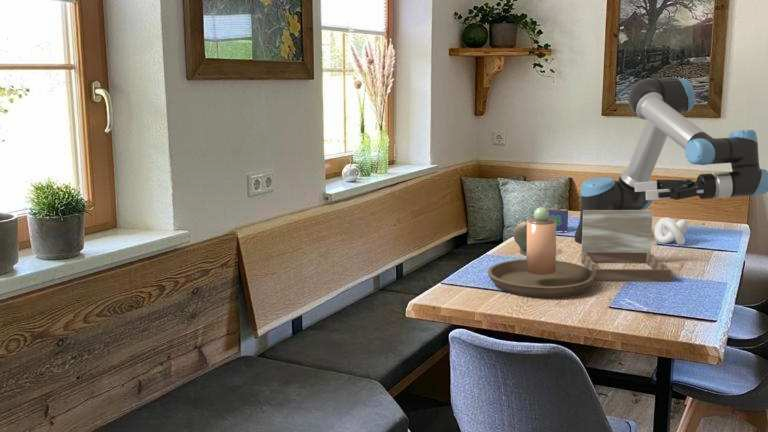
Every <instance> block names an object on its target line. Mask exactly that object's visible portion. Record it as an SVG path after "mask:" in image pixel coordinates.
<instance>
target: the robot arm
mask: <svg viewBox="0 0 768 432" xmlns="http://www.w3.org/2000/svg"><path fill="white" fill-rule="evenodd" d="M694 88H695V87H694V86H693V84H692V83H691V82H690V81H689V80H688V79H686V78H683V77H682V78H681V77H680V78H679V77H664V78H663V77H661V78H660V77H658V78H657V77H655V78H653V77H651V78H650V77H649V78H644V79H640V80H639V81H637V82H635V84H633V86H632V87H631V88H630V90H629V92H628V96H627V103H628V106H629V107H630V108H629V109H630V110H631V111H632V112H633V113H634V114H635V115H636V116H637V117H638V118H640V119H642V120H646V121H645V124H644V125H643V128H642V131H641V133H640V136H639V138H638V141H637V144H636V146H635V149H634V150H633V153H632V157H631V159H630V160H629V161H630V162H629V164H628V167H627V169H625V170H623V171H622V172H620V175H619V178H618V180H615V179H614V177H609V176H603V177H602V176H601V177H592V178H588V179H585V180H584V181H583V182H582V184H581V187H580V189H581V190H580V211H579V212H580V213H579V214H580V215H579V217H580V218H579V223H578V225H577V227H576V231H575V234H574V241H575V242H576V243H579V244H582V229H583V210H647V208H648V207H650V205H651V204H653V201H655V200H665V199H666V200H668V199H671V200H675V201H678V200H682V199H687V198H692V197H698V198H700V199H701V200H709V199H714V198H716V199H719V198H721V200H725V199H726V198H734V197H736V198H737V197H750V196H751V197H752V196H759V195H765V194H767V193H768V170H767V169H764V168H763V169H762V168H761V166H760V158H759V146H758V145H759V142H758V135H757V133H756V130H754V129H744V130H743V129H742V130H741V129H739V130H735V131H730V133H729V134H728V137H719V138H716V137H715V138H714V137H712V136H711V135H710V134H708V133H707V132H705V130H702V129H701V128H700V127H698V125H696V124H694V123H693V122H692V121H690V120H689V119H688V118H686V117H685V116H684V115H683V114H687V113H688V112H690V111H691V110H693V107H694V105H695V103H696V93H695V89H694ZM668 137H669V139H671V140H672V141H674V142H675V143H676V144H677V145H679V147H681V148H682V149H683V150H684V155H685V158H686V159H687V162H688V163H690V164H691V165H697V166H698V165H700V166H707V165H719V164H720V165H721V164H730V165H731V171H723V172H721V171H720V172H714V173H700V174H698V176H697V178H696V180H695V181H693V180H692V179H690V178H687V179H657V180H655V181H653V180H652V179H651V177H652V174H653V172H654V171H655V170H654V169H655V167H656V165H657V163H658V160H659V157H660V155H661V153H662V151H663V148H664V146H665V143H666V141H667V140H668Z"/></svg>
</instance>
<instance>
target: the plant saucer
mask: <svg viewBox="0 0 768 432" xmlns="http://www.w3.org/2000/svg"><path fill="white" fill-rule="evenodd" d="M487 275H488V277H489V279H490V281H492V282H493V283H494V284H495V286H496V287H497V288H498V289H500V290H501V291H504V292H506V293H510V294H515V295H518V296H525V297H530V298H531V297H533V298H534V297H535V298H559V297H560V298H562V297H570V296H574V295H578V294H581V293H583V292H584V291H585V290H586V289H587V288H588V287H590V286H591V285H592V284H593V282H594V281H595V280H594V278H595V275H594V273H593V272H592V271H591V270H590V269H588V268H586V267H585V266H584V265H582V264H581V265H580V264H577V263H574V262H568V261H562V260H556V271H555V272H554V273H552V274H547V275H537V274H532V273H529V272H527V258H523V259H514V260H507V261H502V262H499V263H496V264H494V265H492V266H490V267H489V268H488V271H487Z"/></svg>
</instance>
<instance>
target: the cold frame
mask: <svg viewBox="0 0 768 432" xmlns="http://www.w3.org/2000/svg"><path fill="white" fill-rule="evenodd" d="M652 229H653V210H652V209H644V210H583V229H582V243H581V257H580V258H581V259H580V261H581V265H582V266H584V267H586V268H588V269H590V270H591V271H592V272H593V273H594V275H595V278H594V280H593V281H595V282H631V283H632V282H639V283H640V282H641V283H642V282H644V283H645V282H648V283H651V282H652V283H654V282H655V283H657V282H658V283H665V282H667V283H670V282H671V280H672V270H671V268H669V267H668V266H666V265H665V264H664V263H663V262H662V261H661V260H660V259H659V258H657V257H656V256H655V255H653V254H652V253H651V248H652V232H653V231H652ZM597 264H647V265H648V266H649V267H650V268H646V269H645V268H643V269H642V268H638V269H637V268H636V269H635V268H627V269H626V268H599V267H598V266H597Z"/></svg>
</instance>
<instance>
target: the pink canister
mask: <svg viewBox="0 0 768 432" xmlns="http://www.w3.org/2000/svg"><path fill="white" fill-rule="evenodd" d="M526 221H527V256H526V259H527V272H529V273H532V274H537V275H547V274H552V273H554V272H555V271H556V261H557V258H556V257H557V255H556V254H557V252H556V251H557V232H556V220H555V219H553V218H550V217H549V211H548V210H547V209H546V207H544V206H540V207H537V208H536V209H535V210H534V212H533V217H530V218H528V219H527V220H526Z"/></svg>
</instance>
